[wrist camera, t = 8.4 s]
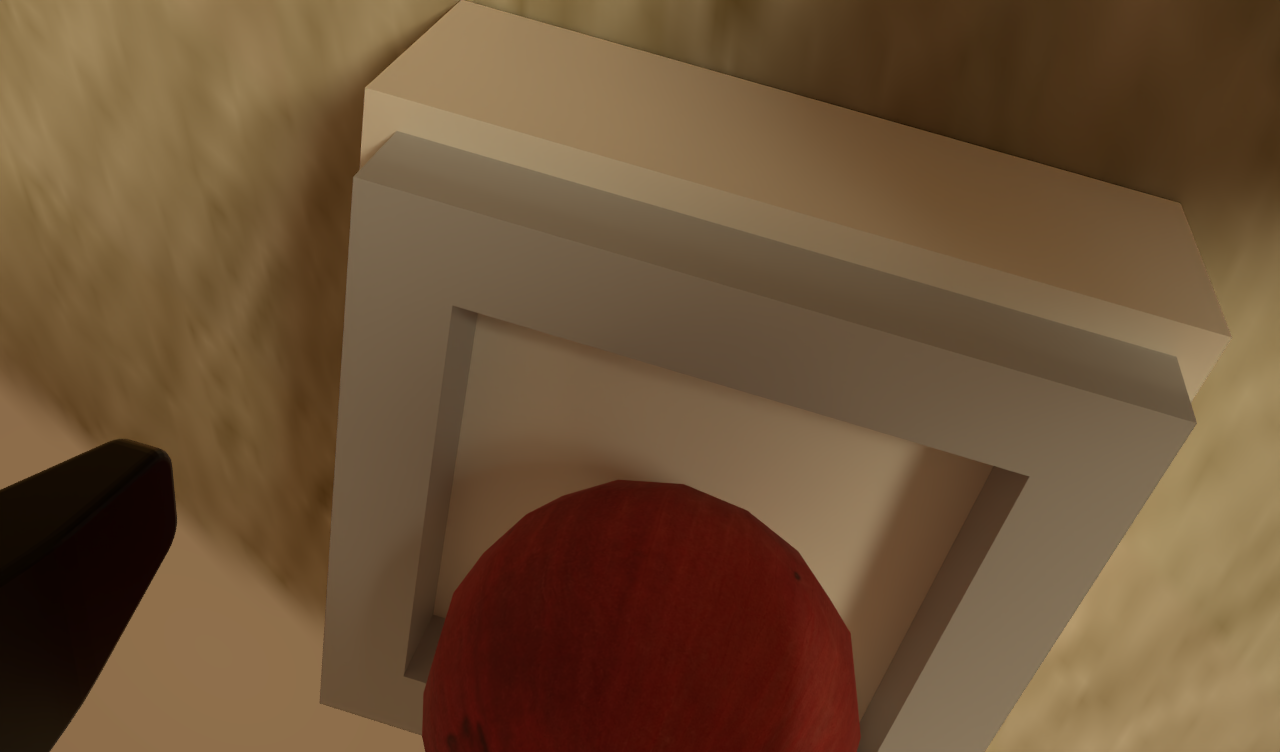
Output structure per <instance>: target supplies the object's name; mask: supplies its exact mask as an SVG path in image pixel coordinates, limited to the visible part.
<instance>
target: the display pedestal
mask: <svg viewBox="0 0 1280 752" xmlns="http://www.w3.org/2000/svg"><path fill="white" fill-rule="evenodd" d="M1231 339H1232V336H1231V333H1230V331H1229V328H1228V325H1227V323H1226V320H1225V318H1224V315H1223V312H1222V310H1221V307H1220V305H1219V302H1218V299H1217V297H1216V294H1215V292H1214V289H1213V286H1212V284H1211V281H1210V279H1209V276H1208V273H1207V271H1206V268H1205V266H1204V263H1203V260H1202V258H1201V255H1200V253H1199V250H1198V247H1197V245H1196V242H1195V239H1194V237H1193V234H1192V232H1191V229H1190V226H1189V224H1188V221H1187V219H1186V216H1185V213H1184V211H1183V208H1182V206H1181V203H1178V202H1174V201H1171V200H1167V199H1164V198H1160V197H1157V196H1153V195H1150V194H1146V193H1143V192H1139V191H1135V190H1132V189H1128V188H1125V187H1121V186H1118V185H1114V184H1111V183H1107V182H1104V181H1100V180H1097V179H1093V178H1090V177H1086V176H1083V175H1079V174H1076V173H1072V172H1068V171H1065V170H1061V169H1058V168H1054V167H1051V166H1047V165H1044V164H1040V163H1037V162H1033V161H1030V160H1026V159H1023V158H1019V157H1016V156H1012V155H1008V154H1005V153H1001V152H998V151H994V150H991V149H987V148H984V147H980V146H977V145H973V144H970V143H966V142H963V141H959V140H956V139H952V138H949V137H945V136H941V135H938V134H934V133H931V132H927V131H924V130H920V129H917V128H913V127H910V126H906V125H903V124H899V123H896V122H892V121H889V120H885V119H882V118H878V117H874V116H871V115H867V114H864V113H860V112H857V111H853V110H850V109H846V108H843V107H839V106H836V105H832V104H829V103H825V102H822V101H818V100H814V99H811V98H807V97H804V96H800V95H797V94H793V93H790V92H786V91H783V90H779V89H776V88H772V87H769V86H765V85H762V84H758V83H755V82H751V81H747V80H744V79H740V78H737V77H733V76H730V75H726V74H723V73H719V72H716V71H712V70H709V69H705V68H702V67H698V66H695V65H691V64H688V63H684V62H680V61H677V60H673V59H670V58H666V57H663V56H659V55H656V54H652V53H649V52H645V51H642V50H638V49H635V48H631V47H628V46H624V45H620V44H617V43H613V42H610V41H606V40H603V39H599V38H596V37H592V36H589V35H585V34H582V33H578V32H575V31H571V30H568V29H564V28H561V27H557V26H553V25H550V24H546V23H543V22H539V21H536V20H532V19H529V18H525V17H522V16H518V15H515V14H511V13H508V12H504V11H501V10H497V9H494V8H490V7H486V6H483V5H479V4H476V3H472V2H469V1H465V0H461V1H459V2H458V3H457V4H456V5H455V6H454V7H453V8H452V9H451V10H450V11H449V12H447V13H446V14H445V15H444V16H443V17H442V18H441V19H440V20H439V21H438V22H436V23H435V24H434V25H433V26H432V27H431V28H430V29H429V30H428V31H427V32H425V33H424V34H423V35H422V36H421V37H420V38H419V39H418V40H417V41H416V42H414V43H413V44H412V45H411V46H410V47H409V48H408V49H407V50H406V51H405V52H403V53H402V54H401V55H400V56H399V57H398V58H397V59H396V60H395V61H394V62H393V63H391V64H390V65H389V66H388V67H387V68H386V69H385V70H384V71H383V72H382V73H380V74H379V75H378V76H377V77H376V78H375V79H374V80H373V81H372V82H371V83H369V84H368V85H367V86H366V87H365V96H364V111H363V125H362V140H361V155H360V170H359V171H358V172H357V173H356V174H355V175H354V176H353V189H352V205H351V221H350V236H349V252H348V267H347V283H346V299H345V314H344V330H343V346H342V361H341V377H340V393H339V408H338V424H337V440H336V455H335V471H334V487H333V502H332V518H331V534H330V549H329V565H328V581H327V596H326V612H325V628H324V643H323V659H322V675H321V690H320V704H324V705H327V706H330V707H333V708H336V709H340V710H343V711H346V712H350V713H352V714H355V715H359V716H362V717H365V718H368V719H371V720H374V721H378V722H381V723H384V724H388V725H390V726H394V727H397V728H400V729H403V730H407V731H409V732H413V733H416V734H419V735H422V721H423V693H424V690H425V686H426V683H427V679H428V676H429V672H430V669H431V665H432V662H433V659H434V655H435V652H436V648H437V645H438V641H439V638H440V635H441V631H442V628H443V625H444V622H445V619H446V615H447V612H448V609H449V606H450V602H451V599H452V596H453V593H454V591H455V590H456V589H457V587H458V586H459V585H460V583H461V582H462V581H463V579H464V578H465V577H466V575H467V574H468V573H469V571H470V570H471V569H472V567H473V566H474V565H475V563H476V562H477V561H478V560H479V558H480V557H481V556H482V554H483V553H484V552H485V551H486V550H487V549H488V548H490V547H491V546H492V545H493V544H494V543H495V542H496V541H497V540H498V539H499V538H501V537H502V536H503V535H504V534H505V533H506V532H507V531H508V530H509V529H510V528H512V527H513V526H514V525H515V524H516V523H517V522H518V521H519V520H520V519H522V518H523V517H524V516H525V515H526V514H528V513H530V512H532V511H534V510H535V509H537V508H539V507H541V506H543V505H545V504H547V503H549V502H551V501H553V500H555V499H557V498H559V497H561V496H563V495H567V494H570V493H574V492H577V491H580V490H584V489H587V488H591V487H594V486H598V485H601V484H604V483H608V482H611V481H615V480H632V481H647V482H661V483H676V484H685V485H687V486H690V487H692V488H695V489H697V490H699V491H702V492H704V493H707V494H709V495H711V496H714V497H716V498H719V499H721V500H724V501H726V502H728V503H731V504H733V505H736V506H738V507H740V508H743V509H745V510H747V511H749V512H750V513H751V514H752V515H754V516H755V517H756V518H757V519H759V520H760V521H761V522H762V523H764V524H765V525H766V526H767V527H769V528H770V529H771V530H772V531H774V532H775V533H776V534H777V535H779V536H780V537H781V538H782V539H784V540H785V541H786V542H787V543H789V544H790V545H791V546H792V547H794V548H795V549H796V550H797V551H799V553H800V554H801V556H802V557H803V559H804V560H805V562H806V563H807V565H808V566H809V568H810V569H811V571H812V572H813V574H814V575H815V577H816V579H817V580H818V582H819V583H820V585H821V586H822V588H823V589H824V591H825V592H826V594H827V595H828V597H829V598H830V600H831V601H832V603H833V605H834V606H835V608H836V610H837V611H838V613H839V615H840V616H841V618H842V620H843V621H844V623H845V625H846V626H847V628H848V630H849V631H850V633H851V641H852V651H853V661H854V671H855V680H856V690H857V701H858V712H859V723H860V734H861V738H860V742H859V746H858V749H857V752H985V751H986V749H987V747H988V746H989V744H990V743H991V741H992V740H993V738H994V737H995V735H996V733H997V732H998V730H999V729H1000V727H1001V726H1002V724H1003V723H1004V721H1005V720H1006V718H1007V716H1008V715H1009V713H1010V712H1011V710H1012V709H1013V707H1014V706H1015V704H1016V703H1017V701H1018V699H1019V698H1020V696H1021V695H1022V693H1023V692H1024V690H1025V689H1026V687H1027V685H1028V684H1029V682H1030V681H1031V679H1032V678H1033V676H1034V675H1035V673H1036V672H1037V670H1038V668H1039V667H1040V665H1041V664H1042V662H1043V661H1044V659H1045V658H1046V656H1047V654H1048V653H1049V651H1050V650H1051V648H1052V647H1053V645H1054V644H1055V642H1056V641H1057V639H1058V637H1059V636H1060V634H1061V633H1062V631H1063V630H1064V628H1065V627H1066V625H1067V624H1068V622H1069V620H1070V619H1071V617H1072V616H1073V614H1074V613H1075V611H1076V610H1077V608H1078V606H1079V605H1080V603H1081V602H1082V600H1083V599H1084V597H1085V596H1086V594H1087V593H1088V591H1089V589H1090V588H1091V586H1092V585H1093V583H1094V582H1095V580H1096V579H1097V577H1098V575H1099V574H1100V572H1101V571H1102V569H1103V568H1104V566H1105V565H1106V563H1107V562H1108V560H1109V558H1110V557H1111V555H1112V554H1113V552H1114V551H1115V549H1116V548H1117V546H1118V545H1119V543H1120V541H1121V540H1122V538H1123V537H1124V535H1125V534H1126V532H1127V531H1128V529H1129V527H1130V526H1131V524H1132V523H1133V521H1134V520H1135V518H1136V517H1137V515H1138V514H1139V512H1140V510H1141V509H1142V507H1143V506H1144V504H1145V503H1146V501H1147V500H1148V498H1149V496H1150V495H1151V493H1152V492H1153V490H1154V489H1155V487H1156V486H1157V484H1158V483H1159V481H1160V479H1161V478H1162V476H1163V475H1164V473H1165V472H1166V470H1167V469H1168V467H1169V466H1170V464H1171V462H1172V461H1173V459H1174V458H1175V456H1176V455H1177V453H1178V452H1179V450H1180V448H1181V447H1182V445H1183V444H1184V442H1185V441H1186V439H1187V438H1188V436H1189V435H1190V433H1191V431H1192V430H1193V428H1194V427H1195V425H1196V424H1197V422H1196V419H1195V416H1194V412H1193V409H1192V406H1191V402H1192V400H1193V399H1194V397H1195V396H1196V394H1197V392H1198V391H1199V389H1200V388H1201V386H1202V384H1203V383H1204V381H1205V380H1206V378H1207V377H1208V375H1209V373H1210V372H1211V370H1212V369H1213V367H1214V365H1215V364H1216V362H1217V361H1218V359H1219V358H1220V356H1221V354H1222V353H1223V351H1224V350H1225V348H1226V347H1227V345H1228V343H1229V342H1230V340H1231Z"/></svg>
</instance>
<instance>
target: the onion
mask: <svg viewBox="0 0 1280 752" xmlns="http://www.w3.org/2000/svg"><path fill="white" fill-rule="evenodd" d="M422 738H423V742H424V747H425V752H857V749H858V746H859V742H860V738H861V734H860V723H859V712H858V701H857V690H856V680H855V671H854V661H853V651H852V641H851V633H850V631H849V630H848V628H847V626H846V625H845V623H844V621H843V620H842V618H841V616H840V615H839V613H838V611H837V610H836V608H835V606H834V605H833V603H832V601H831V600H830V598H829V597H828V595H827V594H826V592H825V591H824V589H823V588H822V586H821V585H820V583H819V582H818V580H817V579H816V577H815V575H814V574H813V572H812V571H811V569H810V568H809V566H808V565H807V563H806V562H805V560H804V559H803V557H802V556H801V554H800V553H799V551H797V550H796V549H795V548H794V547H792V546H791V545H790V544H789V543H787V542H786V541H785V540H784V539H782V538H781V537H780V536H779V535H777V534H776V533H775V532H774V531H772V530H771V529H770V528H769V527H767V526H766V525H765V524H764V523H762V522H761V521H760V520H759V519H757V518H756V517H755V516H754V515H752V514H751V513H750V512H749V511H747V510H745V509H743V508H740V507H738V506H736V505H733V504H731V503H728V502H726V501H724V500H721V499H719V498H716V497H714V496H711V495H709V494H707V493H704V492H702V491H699V490H697V489H695V488H692V487H690V486H687V485H685V484H676V483H661V482H647V481H632V480H615V481H611V482H608V483H604V484H601V485H598V486H594V487H591V488H587V489H584V490H580V491H577V492H574V493H570V494H567V495H563V496H561V497H559V498H557V499H555V500H553V501H551V502H549V503H547V504H545V505H543V506H541V507H539V508H537V509H535V510H534V511H532V512H530V513H528V514H526V515H525V516H524V517H523V518H522V519H520V520H519V521H518V522H517V523H516V524H515V525H514V526H513V527H512V528H510V529H509V530H508V531H507V532H506V533H505V534H504V535H503V536H502V537H501V538H499V539H498V540H497V541H496V542H495V543H494V544H493V545H492V546H491V547H490V548H488V549H487V550H486V551H485V552H484V553H483V554H482V556H481V557H480V558H479V560H478V561H477V562H476V563H475V565H474V566H473V567H472V569H471V570H470V571H469V573H468V574H467V575H466V577H465V578H464V579H463V581H462V582H461V583H460V585H459V586H458V587H457V589H456V590H455V591H454V593H453V596H452V599H451V602H450V606H449V609H448V612H447V615H446V619H445V622H444V625H443V628H442V631H441V635H440V638H439V641H438V645H437V648H436V652H435V655H434V659H433V662H432V665H431V669H430V672H429V676H428V679H427V683H426V686H425V690H424V693H423V721H422Z"/></svg>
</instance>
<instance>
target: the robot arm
mask: <svg viewBox="0 0 1280 752" xmlns="http://www.w3.org/2000/svg"><path fill="white" fill-rule="evenodd" d="M176 526H177V513H176V503H175V492H174V481H173V470H172V463H171V459H170V457H169V456H168V454H167V453H166V452H165V451H163V450H162V449H159V448H156V447H152V446H149V445H146V444H142V443H139V442H135V441H132V440H128V439H117V440H112V441H110V442H107V443H105V444H103V445H100V446H98V447H96V448H94V449H91V450H89V451H87V452H85V453H82V454H80V455H78V456H76V457H73V458H71V459H69V460H67V461H64V462H62V463H60V464H58V465H55V466H53V467H51V468H49V469H47V470H44V471H42V472H40V473H38V474H35V475H33V476H31V477H28V478H26V479H24V480H22V481H19V482H17V483H15V484H13V485H10V486H8V487H6V488H4V489H1V490H0V752H50V750H51V749H52V748H53V746H54V745H55V743H56V742H57V740H58V739H59V738H60V736H61V735H62V733H63V732H64V731H65V729H66V728H67V726H68V725H69V723H70V722H71V720H72V719H73V717H74V716H75V714H76V713H77V711H78V710H79V708H80V707H81V705H82V704H83V702H84V701H85V699H86V697H87V696H88V694H89V692H90V690H91V688H92V687H93V685H94V684H95V682H96V680H97V678H98V677H99V675H100V673H101V671H102V670H103V668H104V666H105V664H106V662H107V661H108V659H109V657H110V655H111V653H112V651H113V650H114V648H115V646H116V644H117V642H118V641H119V639H120V637H121V635H122V633H123V632H124V630H125V628H126V626H127V624H128V622H129V621H130V619H131V617H132V615H133V613H134V612H135V610H136V608H137V606H138V604H139V603H140V601H141V599H142V597H143V595H144V594H145V592H146V590H147V588H148V586H149V585H150V583H151V581H152V579H153V577H154V576H155V574H156V572H157V570H158V568H159V567H160V565H161V563H162V561H163V559H164V558H165V556H166V554H167V552H168V550H169V548H170V546H171V544H172V541H173V539H174V535H175V532H176Z"/></svg>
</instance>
